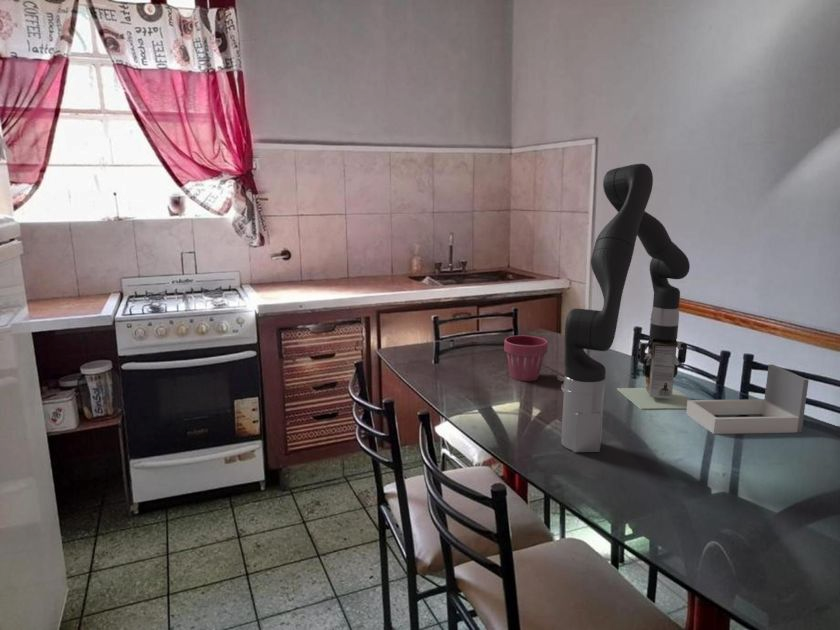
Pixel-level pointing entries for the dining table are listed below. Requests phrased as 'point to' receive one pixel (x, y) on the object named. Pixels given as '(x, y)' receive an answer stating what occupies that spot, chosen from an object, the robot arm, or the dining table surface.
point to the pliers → (561, 381)
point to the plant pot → (525, 356)
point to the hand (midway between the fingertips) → (659, 376)
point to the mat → (654, 399)
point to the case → (757, 408)
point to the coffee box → (661, 369)
